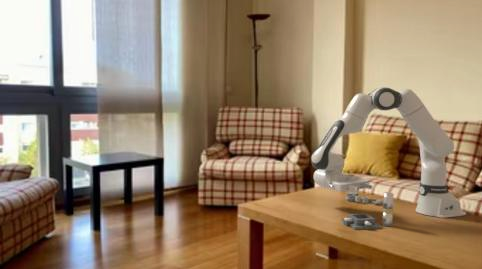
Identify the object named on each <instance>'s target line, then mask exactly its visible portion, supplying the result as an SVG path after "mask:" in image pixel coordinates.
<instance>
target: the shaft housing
mask: <svg viewBox="0 0 482 269" xmlns="http://www.w3.org/2000/svg"><path fill="white" fill-rule="evenodd" d="M347 215H348V216H347V217H343V218H341V221H342V222H343V225H344V226H346V227H351V228H352V229H353V230H365V231H369V230H370V231H373V230H375V229H382V224H379V223H378V222H376V218H374V217H373V216H371V215H370V214H367V213H366V212H365V213H348V214H347Z"/></svg>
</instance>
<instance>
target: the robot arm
mask: <svg viewBox="0 0 482 269" xmlns="http://www.w3.org/2000/svg"><path fill="white" fill-rule="evenodd" d="M394 109H395V110H397V111H398V112H399V113H400V115H401V117H402V118H403V120H404V121H405V123H406V124H407V126H408V128H409V129H410V130H411V131H412V132H413V133H414V134H415V136H416V137H417V138H418V146H419V154H420V161H421V163H420V164H421V171H420V173H421V174H420V182H419V190H418V191H419V197H418V202H417V206H416V208H415V212H417V213H418V214H421V215H425V216H431V217H438V218H441V219H442V218H445V219H447V218H454V217H462V216H466V215H467V213H466V211H464V210H463V209H462V206H461V202H460V200H459V199H457V197H455V195H453V194H451V193H450V191H453V190H454V186H453V185H448V184H447V174H448V173H447V172H448V168H447V166H446V159H445V158H446V157H448V156H450V155H451V154H452V153H453V152H454V149H455V144H454V141H453V140H452V139H451V137H450V136H449V135H448V134H447V133H446V131H445V130H444V129H443V128H442V127H441V125H440V124H439V123H438V122H437V121H436V120H435V118H434V117H433V116H432V114H431V113H430V111H429V109H428V108H427V107H426V106H425V104H424V102H423V100H421V99H420V98H419V96H418V95H417V94H416V93H415V92H414V91H413V90H412V89H410V88H404V89H401V90H399V91H397V90H395V89H392V88H389V87H386V86H381V87H378V88H376V89H374V90H372V91H371V92H370V93H368V94H366V93H363V92H361V93H357V94H355V95H354V96H353V98H352V99H351V101H350V102H349V103H348V105H347V107H346V109H345V110H344V113H343V114H342V115H341V117H339V119H338V120H337V121H335V122H334V123H333V124H332V125H331V127H330V128H329V130H328V131H327V133H326V134H325V136H324V138H323V139H322V141H321V142H320V144H319V145H318V146H317V148H316V149H315V150H314V151H313V152H312V153H311V156H310V161H311V164H312V167H313V168H314V169H316V170H315V171H314V172H313V181H314V182H315V184H316V185H318V186H320V187H322V188H325V189H329V190H330V189H331V190H333V191H336V192H341V193H347V192H351V191H352V192H359V191H360V190H363V189H368V190H372V189H373V185H372V184H370V180H368V179H367V178H363V177H359V176H356V175H355V174H347V173H343V170H344V167H345V158H344V157H343V156H342V154H340V153H339V154H338V153H335V152H332V149H333V148H334V146H335V145H336V143H337V142H338V141H339V139H340V138H341V137H342V136H345V135H350V134H354V133H355V134H356V133H358V132H360V131H361V130H362V129H363V128H364V126H365V125H366V122H367V121H368V118H369V115H370V114H371V112H373V111H374V110H379V111H391V110H394Z"/></svg>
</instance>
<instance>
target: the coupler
mask: <svg viewBox="0 0 482 269" xmlns="http://www.w3.org/2000/svg"><path fill="white" fill-rule="evenodd" d="M382 203H383V204H382V224H381V226H384V227H392V226H393V213H394V193H393V192H387V191H385V192H383V199H382Z"/></svg>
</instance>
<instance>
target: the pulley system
mask: <svg viewBox="0 0 482 269" xmlns="http://www.w3.org/2000/svg"><path fill="white" fill-rule="evenodd" d="M345 202H350V203H359V202H360V203H361V202H363V203H364V204H368V203H371V204H375V205H376V206H380V205H382V203H383V199H380V198H379V199H374V198H373V199H371V198H370V197H369V196H363V197H362V196H361V195H359V193H358V192H357V191H353V192H351V191H346V192H345Z"/></svg>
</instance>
